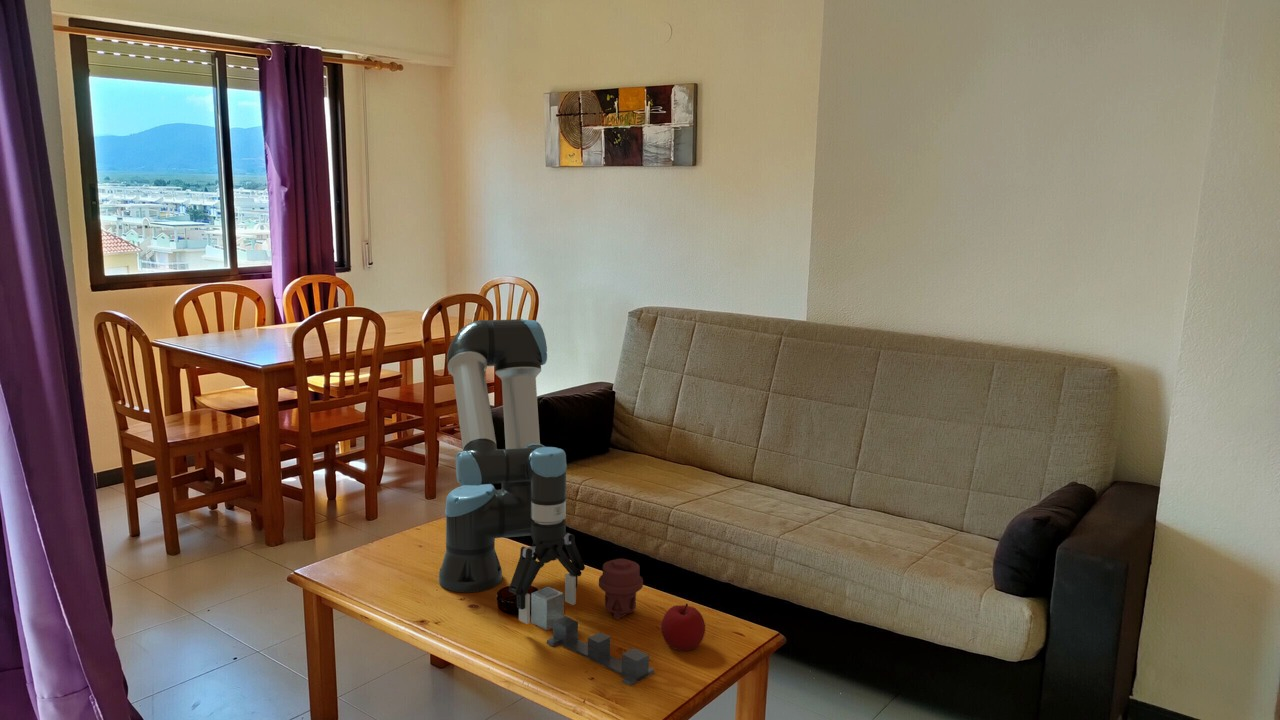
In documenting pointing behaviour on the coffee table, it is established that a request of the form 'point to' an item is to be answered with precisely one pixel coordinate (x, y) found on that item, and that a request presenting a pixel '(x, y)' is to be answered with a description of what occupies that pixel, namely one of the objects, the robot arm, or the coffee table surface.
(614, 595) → the mechanical component
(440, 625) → the coffee table surface
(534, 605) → the block
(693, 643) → the apple
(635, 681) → the rail
